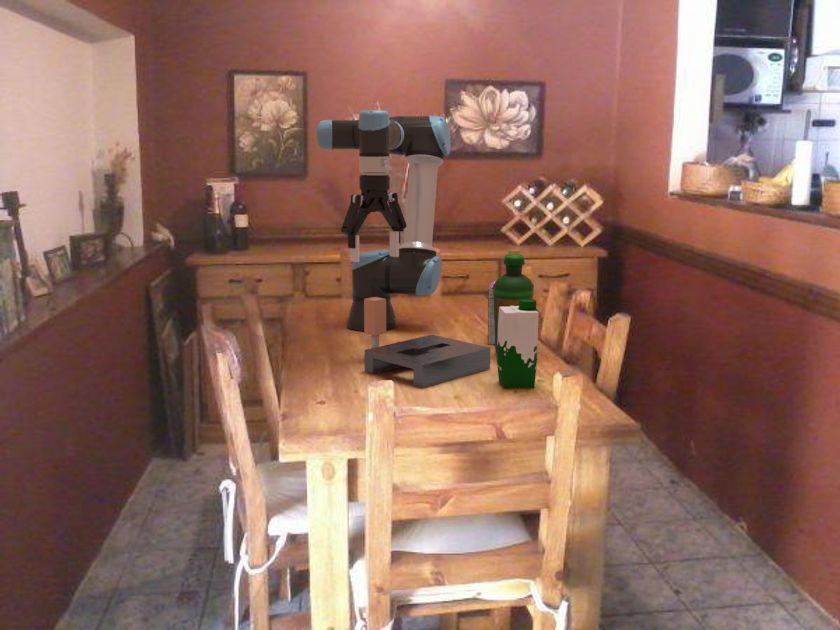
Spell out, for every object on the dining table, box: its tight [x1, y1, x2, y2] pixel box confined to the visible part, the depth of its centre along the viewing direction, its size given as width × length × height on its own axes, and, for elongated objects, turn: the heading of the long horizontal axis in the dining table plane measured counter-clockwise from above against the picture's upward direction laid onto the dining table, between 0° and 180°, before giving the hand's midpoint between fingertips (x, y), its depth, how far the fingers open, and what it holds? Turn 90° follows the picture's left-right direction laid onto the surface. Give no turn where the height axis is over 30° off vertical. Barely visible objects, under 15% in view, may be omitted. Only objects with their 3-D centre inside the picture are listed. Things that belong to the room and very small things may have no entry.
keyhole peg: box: [363, 297, 387, 348], centre depth 217 cm, size 5×5×16 cm
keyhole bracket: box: [364, 334, 491, 389], centre depth 208 cm, size 20×24×6 cm
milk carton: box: [496, 298, 540, 389], centre depth 195 cm, size 9×9×20 cm
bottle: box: [493, 249, 535, 355], centre depth 221 cm, size 11×11×28 cm
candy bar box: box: [487, 280, 496, 346], centre depth 238 cm, size 11×5×16 cm, turn 168°
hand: (374, 259), depth 213 cm, fingers open, 13 cm apart
